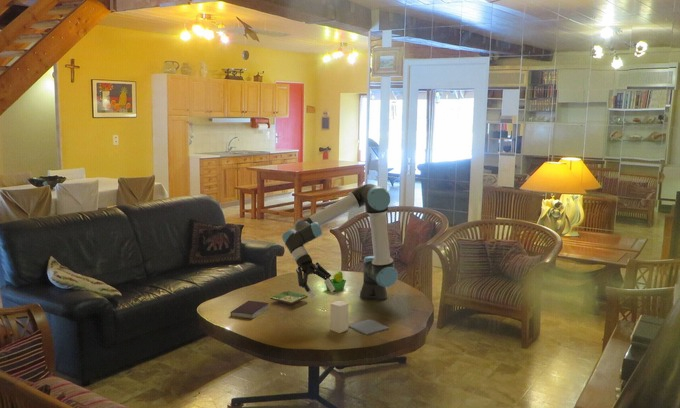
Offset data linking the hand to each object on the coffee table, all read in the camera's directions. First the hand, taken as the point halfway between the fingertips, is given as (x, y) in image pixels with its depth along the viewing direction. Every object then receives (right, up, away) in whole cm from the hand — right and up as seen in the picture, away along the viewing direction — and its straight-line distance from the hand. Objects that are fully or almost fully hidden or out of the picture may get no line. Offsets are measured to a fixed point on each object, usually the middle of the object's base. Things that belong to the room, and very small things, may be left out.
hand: (323, 293), depth 285 cm
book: (-38, -13, +19) cm, 45 cm away
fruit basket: (+6, -7, +59) cm, 59 cm away
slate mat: (+22, -16, -1) cm, 27 cm away
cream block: (+8, -16, -4) cm, 19 cm away
